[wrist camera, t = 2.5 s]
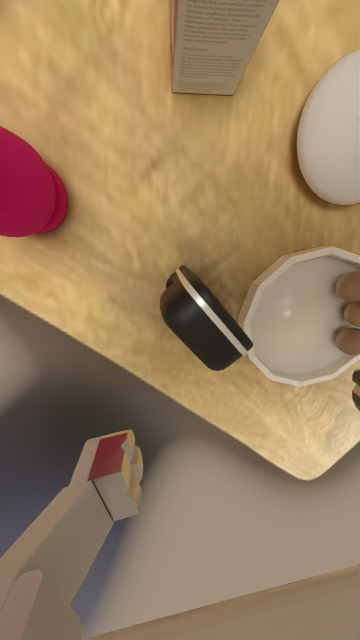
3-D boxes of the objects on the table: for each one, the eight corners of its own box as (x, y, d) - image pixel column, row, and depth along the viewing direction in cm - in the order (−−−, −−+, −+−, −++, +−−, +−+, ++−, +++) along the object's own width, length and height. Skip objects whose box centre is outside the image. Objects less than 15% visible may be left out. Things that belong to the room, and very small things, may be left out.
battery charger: (155, 285, 24) (150, 318, 14) (181, 262, 24) (198, 276, 13) (195, 329, 26) (219, 388, 16) (221, 309, 26) (263, 355, 15)
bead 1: (356, 266, 25) (383, 269, 22) (355, 294, 26) (381, 300, 23) (328, 273, 25) (351, 277, 22) (328, 300, 26) (350, 308, 23)
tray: (371, 232, 24) (389, 231, 22) (366, 358, 30) (380, 366, 28) (229, 269, 24) (235, 271, 22) (248, 388, 30) (254, 398, 28)
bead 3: (354, 320, 27) (379, 330, 24) (354, 344, 28) (377, 356, 25) (329, 327, 27) (350, 337, 24) (329, 350, 28) (349, 363, 25)
